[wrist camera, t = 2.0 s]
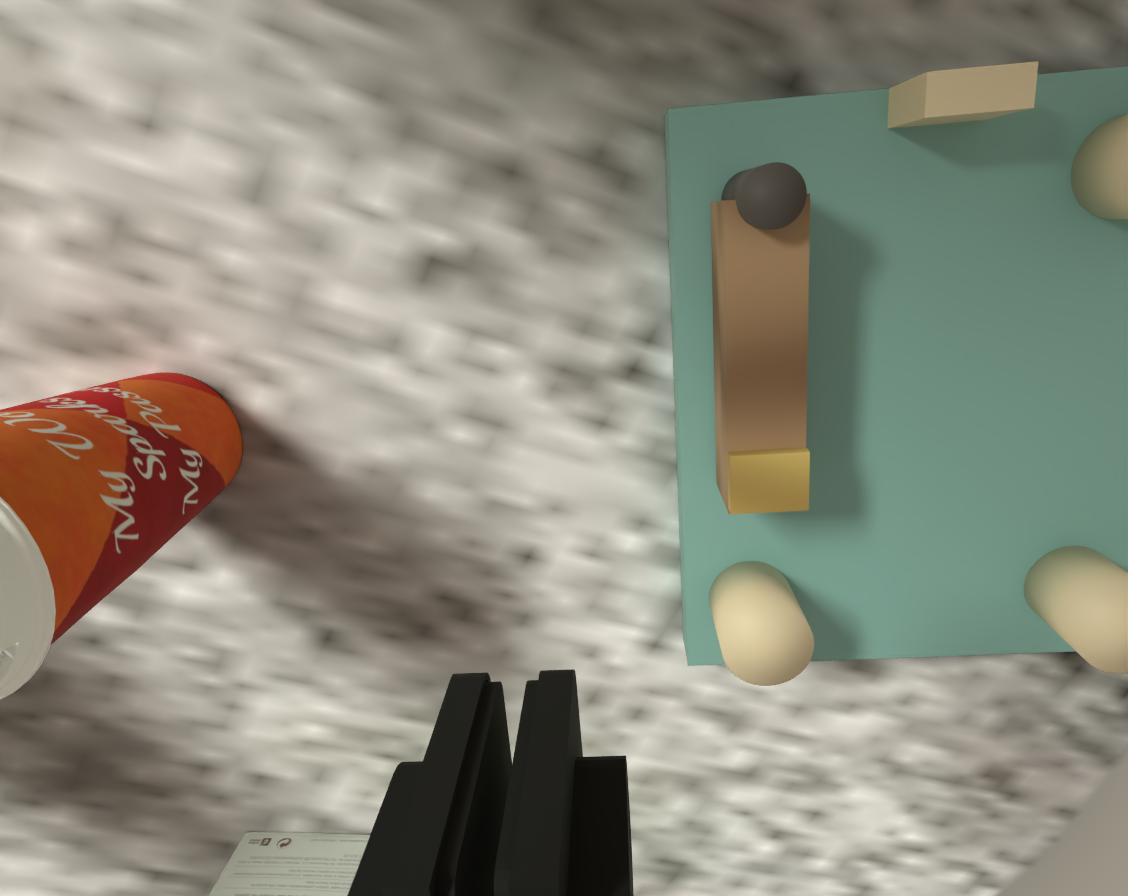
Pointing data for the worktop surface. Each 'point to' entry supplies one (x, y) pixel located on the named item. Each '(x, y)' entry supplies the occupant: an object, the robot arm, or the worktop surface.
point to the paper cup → (98, 498)
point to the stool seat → (922, 375)
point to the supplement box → (292, 864)
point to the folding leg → (761, 339)
